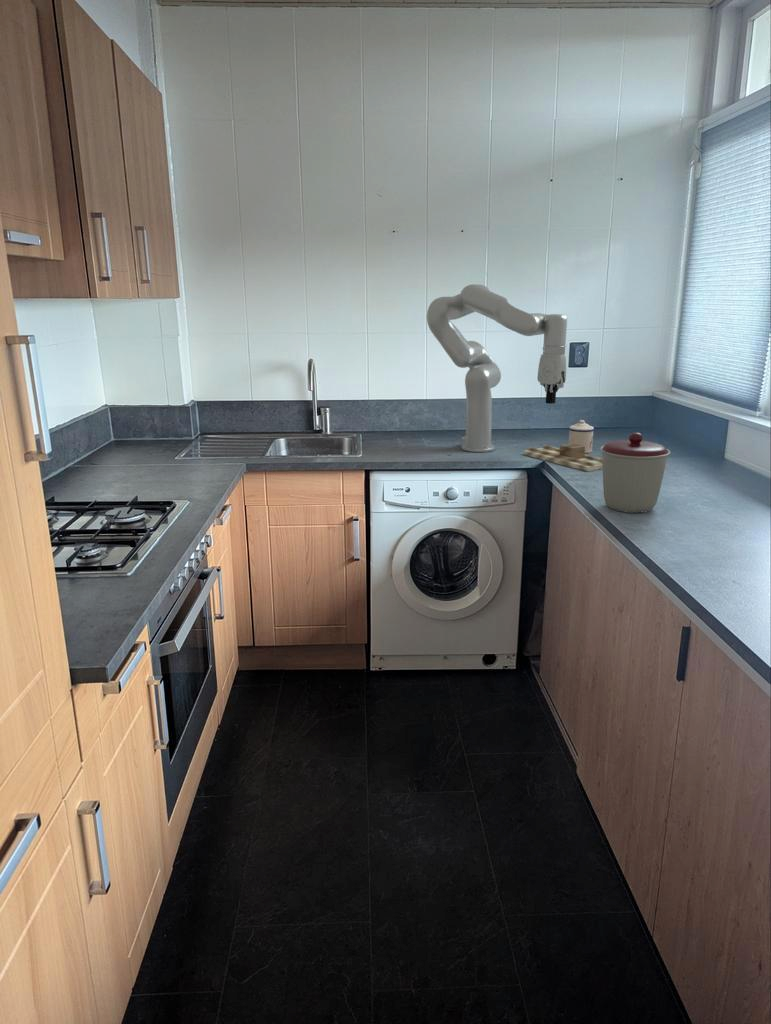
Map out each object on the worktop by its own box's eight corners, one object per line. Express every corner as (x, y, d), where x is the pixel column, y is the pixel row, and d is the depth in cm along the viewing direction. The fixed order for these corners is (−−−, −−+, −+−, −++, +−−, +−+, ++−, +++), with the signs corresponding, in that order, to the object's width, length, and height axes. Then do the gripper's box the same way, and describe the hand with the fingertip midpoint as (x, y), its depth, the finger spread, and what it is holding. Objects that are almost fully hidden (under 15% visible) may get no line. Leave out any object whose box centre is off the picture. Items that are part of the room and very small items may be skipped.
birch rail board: (523, 454, 269) (524, 447, 268) (548, 450, 274) (548, 444, 274) (587, 471, 242) (588, 464, 241) (613, 467, 248) (613, 459, 247)
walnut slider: (559, 456, 257) (560, 445, 256) (571, 454, 260) (572, 443, 259) (571, 459, 252) (572, 448, 251) (584, 457, 255) (584, 446, 254)
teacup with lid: (595, 453, 268) (597, 422, 265) (570, 454, 269) (572, 422, 265) (587, 447, 280) (589, 417, 277) (563, 447, 280) (565, 417, 277)
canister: (679, 513, 196) (687, 436, 190) (623, 520, 190) (630, 441, 184) (634, 496, 212) (641, 424, 206) (582, 503, 206) (587, 429, 200)
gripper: (531, 349, 259) (528, 401, 264) (561, 352, 247) (557, 406, 252) (547, 348, 263) (543, 399, 268) (577, 351, 251) (573, 405, 256)
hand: (550, 403), depth 260 cm, fingers closed
